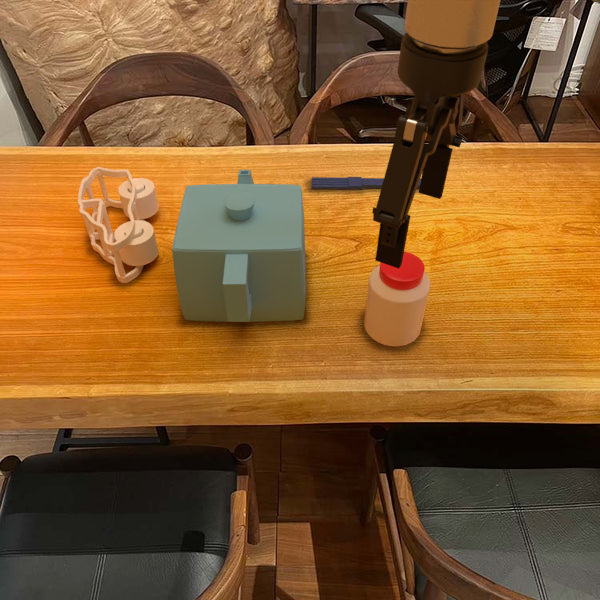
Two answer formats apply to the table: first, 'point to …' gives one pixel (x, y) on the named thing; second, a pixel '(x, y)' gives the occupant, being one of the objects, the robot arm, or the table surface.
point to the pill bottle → (397, 301)
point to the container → (241, 252)
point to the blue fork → (347, 183)
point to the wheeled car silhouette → (129, 236)
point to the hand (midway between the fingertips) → (410, 226)
